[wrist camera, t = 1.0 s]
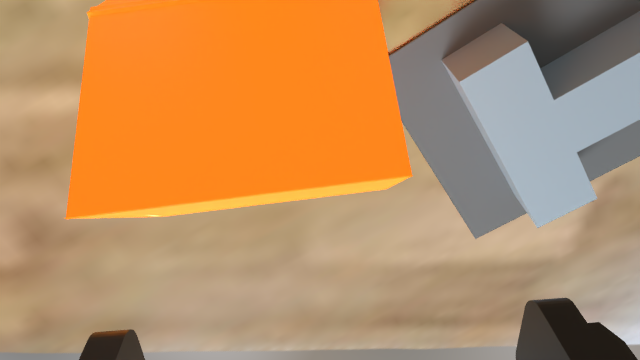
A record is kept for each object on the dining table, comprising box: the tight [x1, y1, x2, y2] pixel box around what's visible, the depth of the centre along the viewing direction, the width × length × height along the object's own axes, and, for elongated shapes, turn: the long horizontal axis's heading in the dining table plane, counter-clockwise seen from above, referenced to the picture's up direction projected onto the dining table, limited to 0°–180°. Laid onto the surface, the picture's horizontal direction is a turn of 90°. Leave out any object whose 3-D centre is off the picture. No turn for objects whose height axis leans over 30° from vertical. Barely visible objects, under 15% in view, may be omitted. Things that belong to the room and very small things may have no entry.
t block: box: [442, 11, 640, 228], centre depth 30 cm, size 12×12×4 cm
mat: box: [389, 0, 640, 239], centre depth 31 cm, size 26×16×1 cm, turn 123°
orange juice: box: [64, 0, 413, 219], centre depth 21 cm, size 8×9×20 cm
